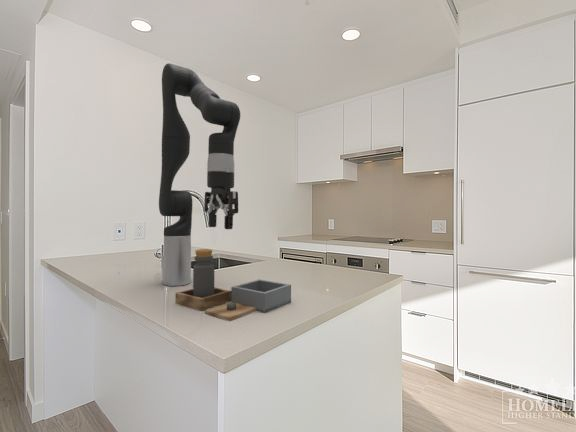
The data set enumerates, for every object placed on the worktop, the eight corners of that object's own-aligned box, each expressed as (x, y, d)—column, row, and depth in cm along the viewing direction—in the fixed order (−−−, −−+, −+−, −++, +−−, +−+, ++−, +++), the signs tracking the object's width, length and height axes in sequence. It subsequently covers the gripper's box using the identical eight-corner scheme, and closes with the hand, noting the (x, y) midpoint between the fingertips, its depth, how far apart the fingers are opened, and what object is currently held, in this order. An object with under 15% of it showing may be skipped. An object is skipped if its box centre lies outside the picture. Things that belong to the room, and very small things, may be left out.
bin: (231, 304, 89) (231, 286, 89) (259, 295, 99) (259, 279, 98) (264, 312, 82) (264, 293, 82) (291, 301, 92) (291, 284, 92)
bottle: (208, 306, 87) (208, 251, 87) (189, 304, 89) (189, 251, 88) (217, 300, 93) (217, 249, 93) (199, 298, 94) (199, 248, 94)
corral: (175, 303, 89) (175, 293, 89) (206, 295, 98) (206, 285, 98) (201, 310, 83) (201, 299, 83) (231, 301, 92) (231, 290, 92)
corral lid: (204, 313, 81) (204, 305, 81) (232, 304, 89) (232, 297, 89) (229, 320, 76) (229, 312, 76) (257, 310, 84) (257, 302, 84)
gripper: (196, 171, 93) (196, 227, 93) (223, 168, 82) (222, 230, 83) (219, 173, 98) (218, 226, 98) (246, 170, 87) (245, 229, 88)
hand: (220, 228), depth 91 cm, fingers open, 8 cm apart
